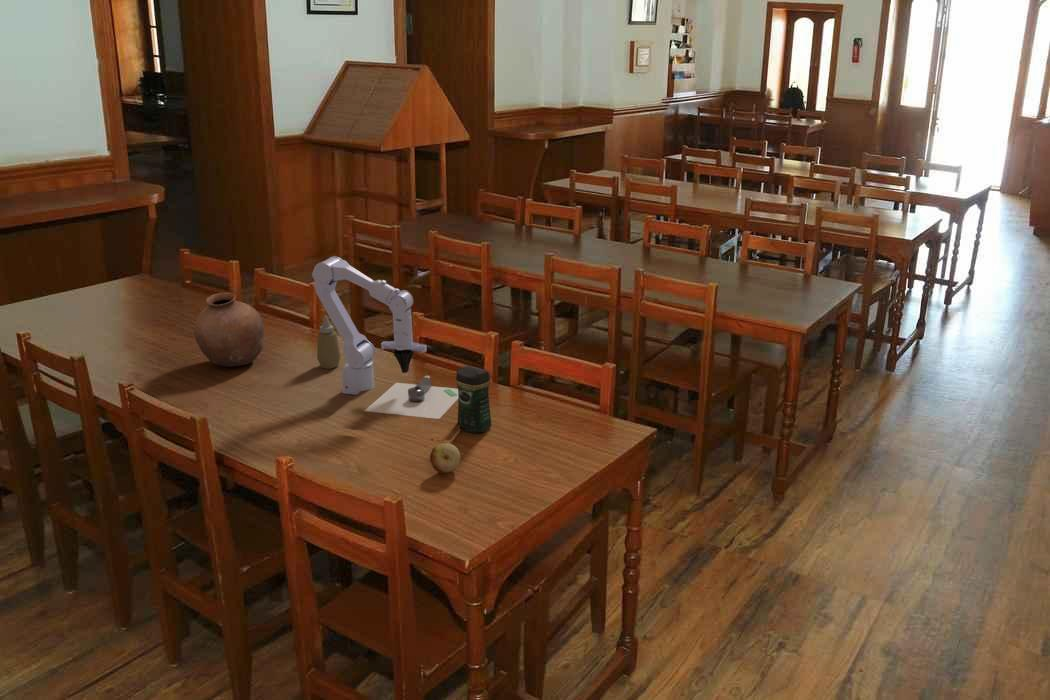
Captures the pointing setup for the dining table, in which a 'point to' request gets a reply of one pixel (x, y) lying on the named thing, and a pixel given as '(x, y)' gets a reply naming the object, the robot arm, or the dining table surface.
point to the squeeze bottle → (328, 346)
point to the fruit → (445, 457)
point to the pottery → (229, 331)
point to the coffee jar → (473, 399)
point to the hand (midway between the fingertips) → (405, 371)
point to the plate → (430, 407)
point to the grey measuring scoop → (419, 390)
